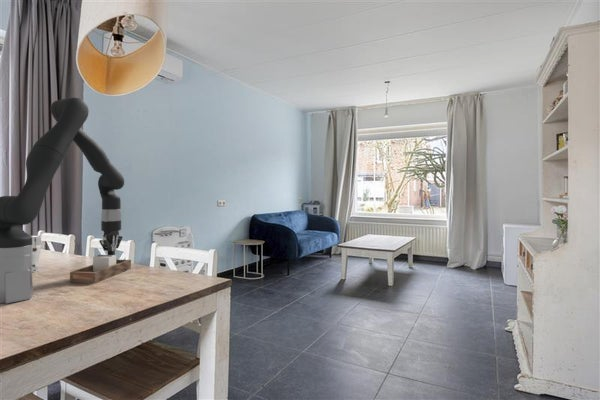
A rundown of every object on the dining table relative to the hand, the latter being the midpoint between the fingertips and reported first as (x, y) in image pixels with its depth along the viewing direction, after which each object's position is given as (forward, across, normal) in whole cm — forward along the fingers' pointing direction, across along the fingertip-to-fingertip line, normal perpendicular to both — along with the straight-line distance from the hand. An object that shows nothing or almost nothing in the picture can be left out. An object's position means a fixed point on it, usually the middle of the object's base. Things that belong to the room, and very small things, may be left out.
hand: (111, 259), depth 144 cm
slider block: (+4, +4, 0) cm, 6 cm away
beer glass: (+6, +3, -34) cm, 34 cm away
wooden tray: (+5, +6, 0) cm, 8 cm away
